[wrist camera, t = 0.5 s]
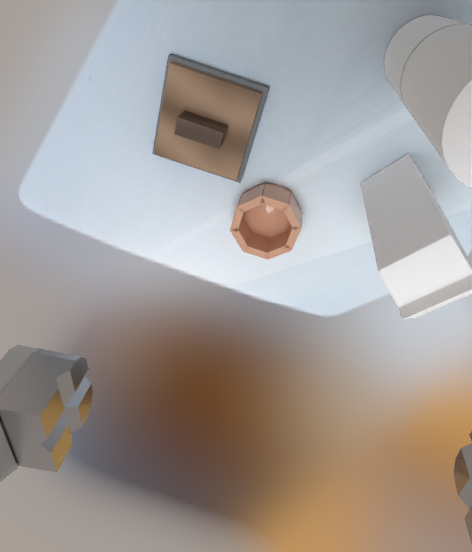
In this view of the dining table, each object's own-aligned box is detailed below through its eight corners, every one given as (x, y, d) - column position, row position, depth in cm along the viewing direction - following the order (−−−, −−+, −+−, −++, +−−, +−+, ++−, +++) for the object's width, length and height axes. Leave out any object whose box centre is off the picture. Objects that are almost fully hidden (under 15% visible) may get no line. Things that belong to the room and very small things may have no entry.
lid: (172, 61, 45) (160, 67, 42) (262, 92, 45) (258, 100, 42) (157, 151, 51) (145, 162, 47) (237, 177, 51) (231, 190, 48)
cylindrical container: (414, 111, 45) (493, 217, 24) (368, 61, 43) (412, 131, 22) (478, 53, 41) (634, 122, 21) (430, -4, 39) (551, 9, 19)
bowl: (248, 174, 52) (242, 189, 48) (309, 194, 52) (308, 210, 48) (231, 228, 56) (225, 245, 52) (287, 246, 56) (285, 265, 52)
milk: (359, 182, 50) (379, 293, 32) (409, 152, 47) (461, 254, 29) (386, 221, 52) (419, 345, 34) (434, 194, 49) (498, 314, 31)
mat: (171, 53, 45) (168, 54, 44) (269, 86, 46) (268, 88, 45) (155, 151, 52) (152, 153, 51) (241, 179, 52) (240, 182, 51)
